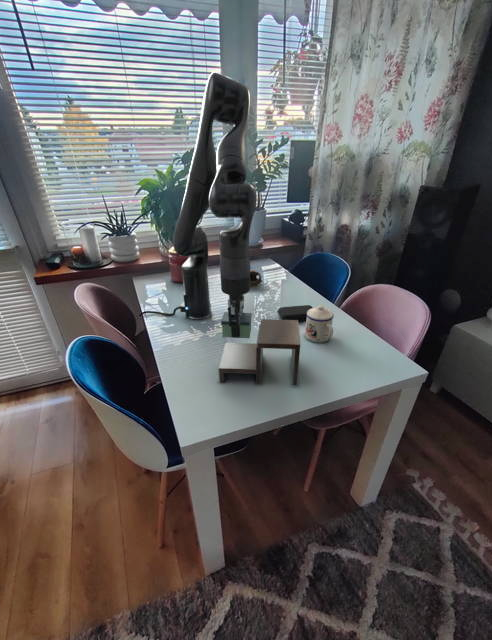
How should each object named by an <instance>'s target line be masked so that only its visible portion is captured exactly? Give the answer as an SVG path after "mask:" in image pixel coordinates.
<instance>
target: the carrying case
mask: <svg viewBox="0 0 492 640" xmlns="http://www.w3.org/2000/svg"><path fill="white" fill-rule="evenodd" d="M312 308H314V307H313V306H312V305H310V304H305V305H291V306H281V307H279V308H278V309H277V315H278V316H279V318H280V320H298V322H303V321H306V320H307V315H306V313H307V311H308V310H310V309H312Z"/></svg>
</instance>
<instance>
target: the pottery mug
mask: <svg viewBox="0 0 492 640" xmlns="http://www.w3.org/2000/svg"><path fill="white" fill-rule="evenodd" d="M262 278H263V277H262V275H261V273H260V272H259V271H256V270H250V289H251V288H254V287H258V286H259V285H260V284H261V283H263V279H262Z"/></svg>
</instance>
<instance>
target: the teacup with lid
mask: <svg viewBox="0 0 492 640" xmlns="http://www.w3.org/2000/svg"><path fill="white" fill-rule="evenodd" d="M306 315H307V320H305V321H306V322H305V331H304V336H305V338H306V340H307V341H310V342H312V343H324V342H328V341H329V340H330V339H331V337H332V336H333V334H334V328H333V326H332V325H333V319H334V316H335V315H334V313H333V311H332V310H330V309H328V308H325V307H324V305H321V304H320V305H318V306H316V307H313V308H312V309H310V310H308V311H307V313H306Z"/></svg>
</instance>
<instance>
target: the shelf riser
mask: <svg viewBox="0 0 492 640" xmlns="http://www.w3.org/2000/svg"><path fill="white" fill-rule="evenodd" d="M299 326H300V324H299V321H298V320H282V319H270V318H267V319H266V318H261V319H260V323H259V324H258V328H257V337H256V338H257V339H256V343H250V342H249V343H248V342H243V343H242V342H225V343H224V347H223V351H222V355H221V358H220V362H219V366H218V378H219V384H220V383H222V384H223V383H225V379H226V376H227V374H246V375H255V384H256V385H261V383H262V382H261V381H262V371H263V360H264V349H270V350H271V349H273V350H275V349H276V350H291V358H290V359H291V379H292V381H291V382H292V386H298V378H299V365H300V356H301V355H300V354H301V336H300V327H299Z"/></svg>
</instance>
